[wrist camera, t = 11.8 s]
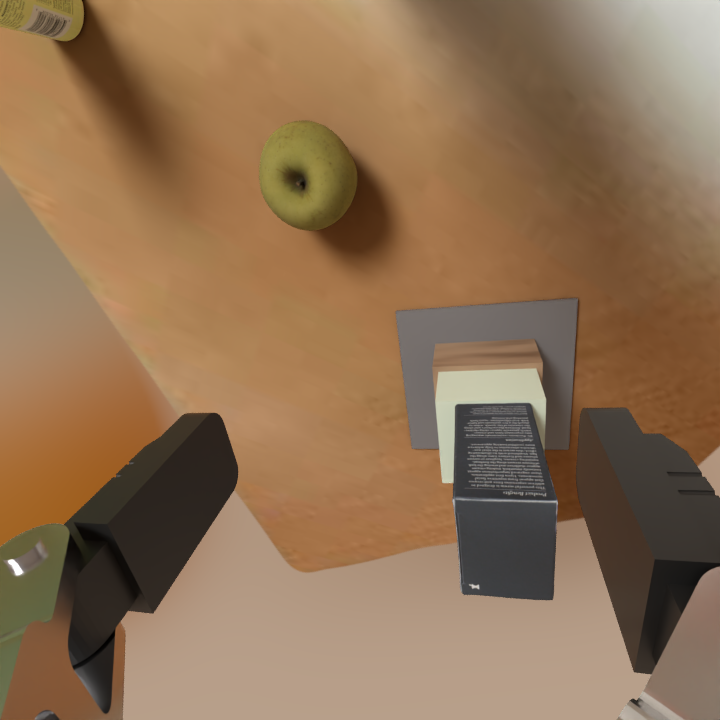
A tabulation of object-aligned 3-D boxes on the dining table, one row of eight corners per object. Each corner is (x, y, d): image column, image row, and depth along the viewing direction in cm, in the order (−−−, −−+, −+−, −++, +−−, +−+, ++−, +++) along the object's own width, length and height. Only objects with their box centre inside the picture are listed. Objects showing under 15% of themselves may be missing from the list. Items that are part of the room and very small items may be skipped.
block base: (435, 343, 43) (432, 367, 38) (534, 338, 41) (542, 362, 36) (441, 421, 47) (439, 451, 42) (532, 421, 44) (540, 451, 40)
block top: (438, 371, 38) (435, 401, 34) (536, 368, 37) (546, 399, 32) (444, 446, 42) (442, 482, 37) (534, 447, 40) (543, 485, 35)
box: (530, 483, 36) (554, 604, 26) (459, 481, 37) (457, 595, 28) (532, 399, 32) (560, 504, 23) (454, 401, 34) (450, 499, 24)
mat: (396, 310, 43) (395, 312, 42) (577, 297, 39) (577, 299, 38) (412, 446, 49) (411, 448, 49) (568, 447, 45) (568, 449, 45)
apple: (307, 234, 41) (279, 251, 35) (265, 148, 39) (226, 150, 32) (380, 199, 38) (364, 210, 32) (340, 104, 36) (314, 96, 30)
